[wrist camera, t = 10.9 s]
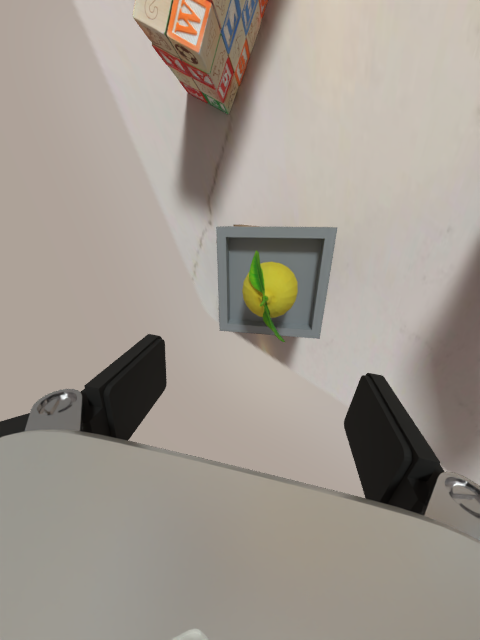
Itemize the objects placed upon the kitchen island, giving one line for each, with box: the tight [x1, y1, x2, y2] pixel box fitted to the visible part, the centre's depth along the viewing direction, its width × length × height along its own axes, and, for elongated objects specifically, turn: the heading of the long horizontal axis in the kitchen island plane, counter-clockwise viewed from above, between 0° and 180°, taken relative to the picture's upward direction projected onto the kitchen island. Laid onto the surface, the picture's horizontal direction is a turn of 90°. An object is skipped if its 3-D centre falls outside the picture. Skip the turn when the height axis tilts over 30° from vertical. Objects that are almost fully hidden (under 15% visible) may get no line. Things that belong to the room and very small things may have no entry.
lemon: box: [242, 250, 298, 342], centre depth 22 cm, size 7×6×10 cm
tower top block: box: [216, 226, 337, 339], centre depth 28 cm, size 12×12×6 cm
